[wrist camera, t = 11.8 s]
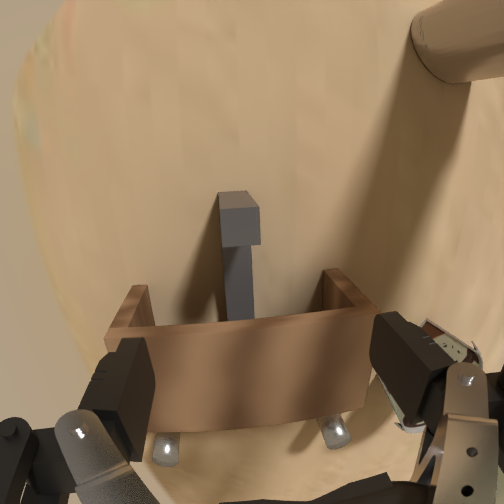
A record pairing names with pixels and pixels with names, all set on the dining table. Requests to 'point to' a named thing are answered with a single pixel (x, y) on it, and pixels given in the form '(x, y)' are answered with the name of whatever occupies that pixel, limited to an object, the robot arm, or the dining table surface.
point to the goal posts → (169, 441)
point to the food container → (454, 350)
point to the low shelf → (255, 362)
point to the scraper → (238, 250)
